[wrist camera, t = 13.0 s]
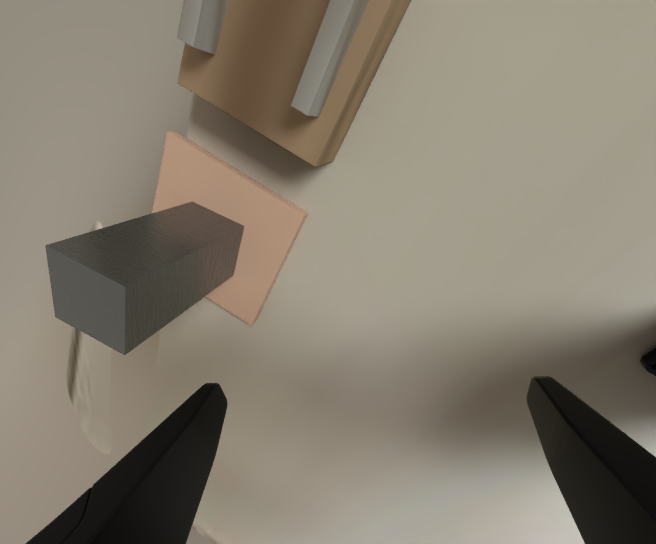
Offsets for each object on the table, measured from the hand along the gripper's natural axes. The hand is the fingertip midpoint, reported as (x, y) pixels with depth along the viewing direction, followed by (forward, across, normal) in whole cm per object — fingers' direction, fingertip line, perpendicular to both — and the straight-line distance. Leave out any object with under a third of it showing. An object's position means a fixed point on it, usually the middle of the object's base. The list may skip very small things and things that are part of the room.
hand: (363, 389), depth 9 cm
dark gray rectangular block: (+12, +10, 0) cm, 16 cm away
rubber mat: (+13, +10, 0) cm, 17 cm away
